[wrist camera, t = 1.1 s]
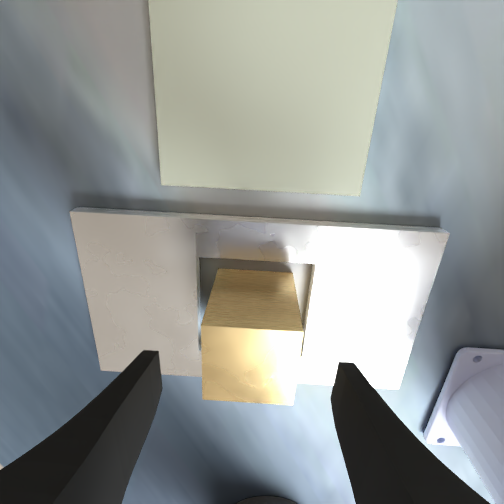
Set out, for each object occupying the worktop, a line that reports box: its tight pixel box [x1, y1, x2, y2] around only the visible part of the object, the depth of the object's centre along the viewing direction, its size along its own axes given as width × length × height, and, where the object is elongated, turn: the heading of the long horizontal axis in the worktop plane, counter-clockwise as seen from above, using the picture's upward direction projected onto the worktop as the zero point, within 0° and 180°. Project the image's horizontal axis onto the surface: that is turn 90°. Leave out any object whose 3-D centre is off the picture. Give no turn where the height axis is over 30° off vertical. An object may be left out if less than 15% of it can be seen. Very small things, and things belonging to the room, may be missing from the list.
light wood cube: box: [201, 268, 303, 405], centre depth 15 cm, size 4×4×5 cm
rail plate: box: [69, 207, 450, 389], centre depth 17 cm, size 18×10×1 cm, turn 87°
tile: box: [148, 0, 398, 196], centre depth 12 cm, size 9×9×1 cm
